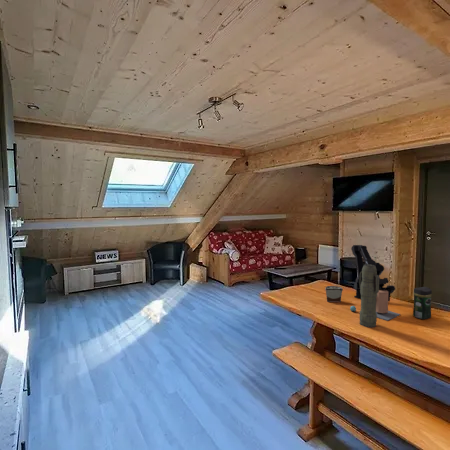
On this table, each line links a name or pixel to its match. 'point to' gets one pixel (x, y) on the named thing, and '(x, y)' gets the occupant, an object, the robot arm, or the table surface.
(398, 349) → the table surface
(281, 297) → the table surface
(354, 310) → the ball
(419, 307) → the coffee jar
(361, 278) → the thermos
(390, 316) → the slate mat
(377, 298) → the brown piece
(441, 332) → the table surface
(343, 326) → the table surface
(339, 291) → the food container
